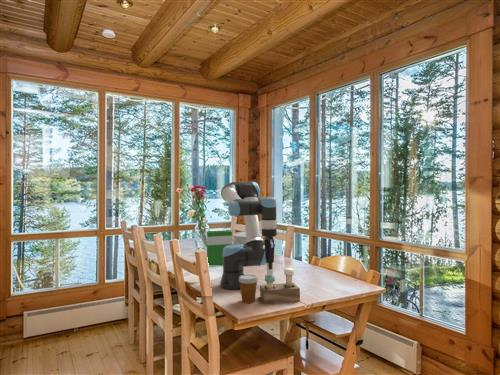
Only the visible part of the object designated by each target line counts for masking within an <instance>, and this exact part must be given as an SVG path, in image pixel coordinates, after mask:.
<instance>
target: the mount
mask: <svg viewBox="0 0 500 375" xmlns="http://www.w3.org/2000/svg"><path fill="white" fill-rule="evenodd" d="M259 297H260V300H262V302H263V303H264V304H272V303H273V304H274V303H283V302H284V303H287V302H298V301H301V288H300V287H299V286H298V285H297V284H296V283H294V282H292V287H291V288H287V287H286V282H285V283H273V289H267V284H259Z"/></svg>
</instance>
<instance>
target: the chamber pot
mask: <svg viewBox="0 0 500 375" xmlns="http://www.w3.org/2000/svg"><path fill="white" fill-rule="evenodd" d="M260 233H261V239H262V240H263V241H264V239H263V238H264V236H262V231H260ZM232 237H234V238H233V239H232V244H243V246H245V243H246V242H247V236H246V229H245V230H244V231H243V230H242V231H237V232H232Z"/></svg>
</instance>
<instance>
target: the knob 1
mask: <svg viewBox="0 0 500 375" xmlns="http://www.w3.org/2000/svg"><path fill="white" fill-rule="evenodd" d="M275 278H276V277H275V274H273V276H267V274H265V275H264V281H265V283H266V285H267V289H273V284H274V282H276V281H275Z"/></svg>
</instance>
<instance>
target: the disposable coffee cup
mask: <svg viewBox="0 0 500 375" xmlns="http://www.w3.org/2000/svg"><path fill="white" fill-rule="evenodd" d="M258 280H259V279H258V277H257V275H255V274H244V275H242V276H240V277H239V282H240V294H241V295H240V296H241V301H242V303H245V304H252V303H254V302H256V301H255V300H256V292H257V282H258Z"/></svg>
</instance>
